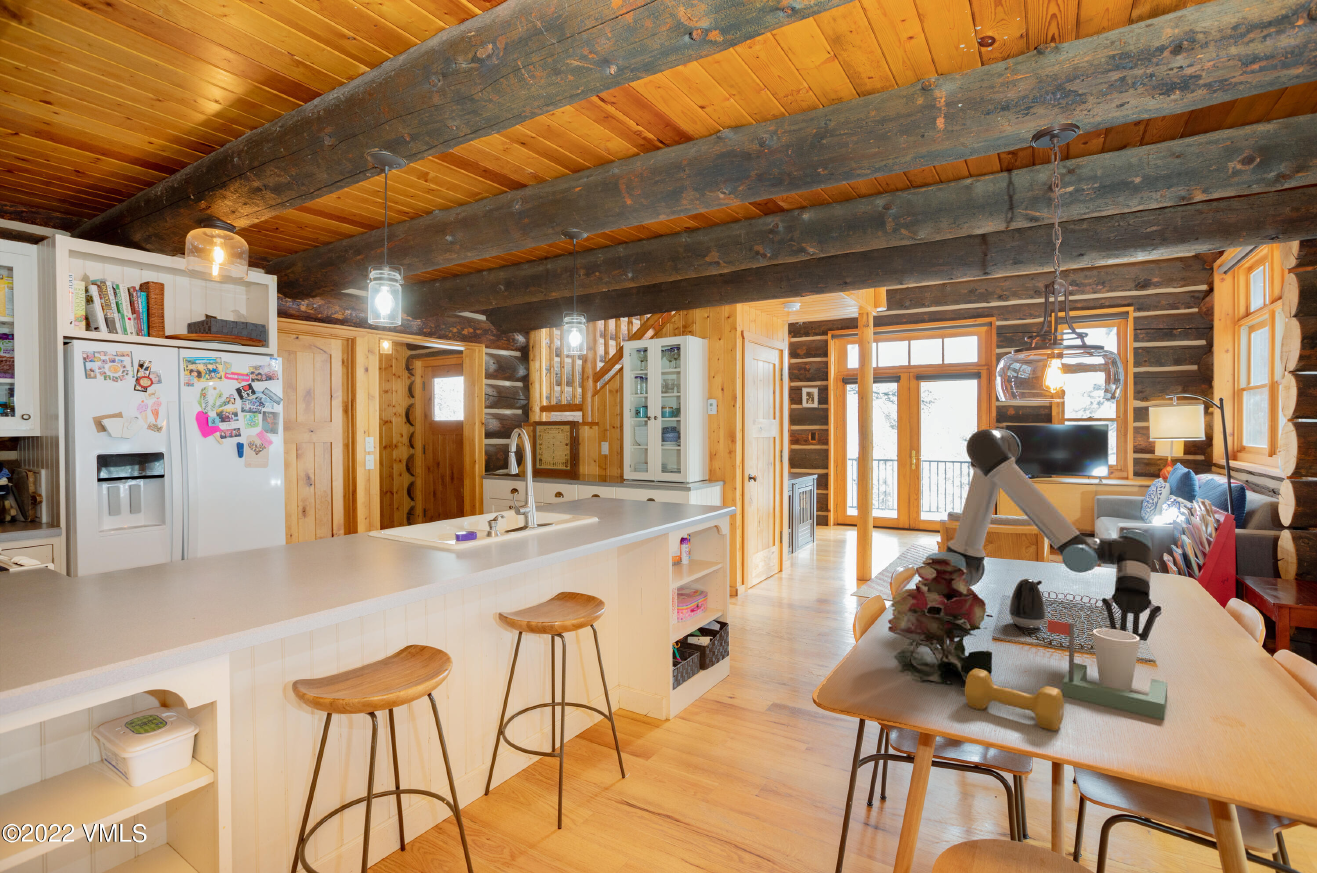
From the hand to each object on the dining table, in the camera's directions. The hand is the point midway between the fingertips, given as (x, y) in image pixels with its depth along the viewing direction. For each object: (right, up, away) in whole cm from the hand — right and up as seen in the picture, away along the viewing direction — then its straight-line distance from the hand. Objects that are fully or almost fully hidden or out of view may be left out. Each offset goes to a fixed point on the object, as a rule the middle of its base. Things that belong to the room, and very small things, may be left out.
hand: (1127, 661), depth 159 cm
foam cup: (-5, -5, -3) cm, 8 cm away
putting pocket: (-10, -5, -7) cm, 14 cm away
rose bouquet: (-44, -5, +9) cm, 45 cm away
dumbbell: (-39, -6, -18) cm, 43 cm away
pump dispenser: (0, -4, +44) cm, 44 cm away
